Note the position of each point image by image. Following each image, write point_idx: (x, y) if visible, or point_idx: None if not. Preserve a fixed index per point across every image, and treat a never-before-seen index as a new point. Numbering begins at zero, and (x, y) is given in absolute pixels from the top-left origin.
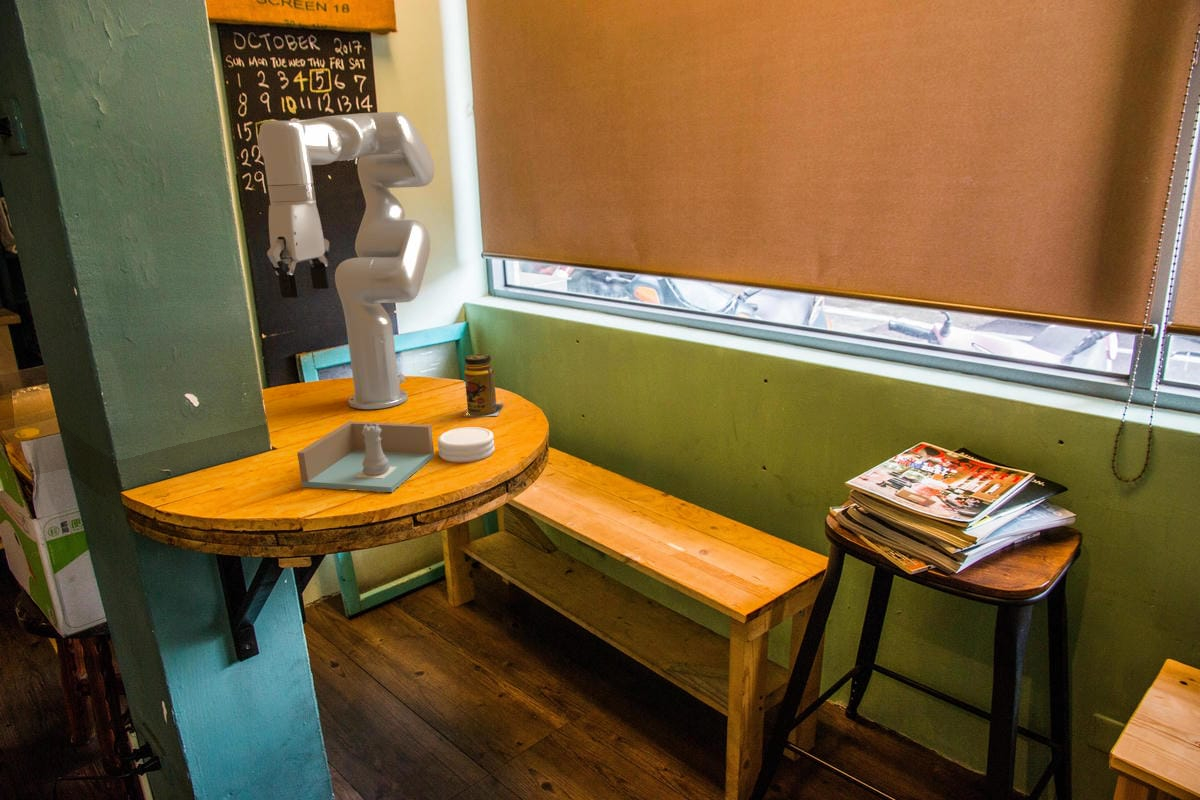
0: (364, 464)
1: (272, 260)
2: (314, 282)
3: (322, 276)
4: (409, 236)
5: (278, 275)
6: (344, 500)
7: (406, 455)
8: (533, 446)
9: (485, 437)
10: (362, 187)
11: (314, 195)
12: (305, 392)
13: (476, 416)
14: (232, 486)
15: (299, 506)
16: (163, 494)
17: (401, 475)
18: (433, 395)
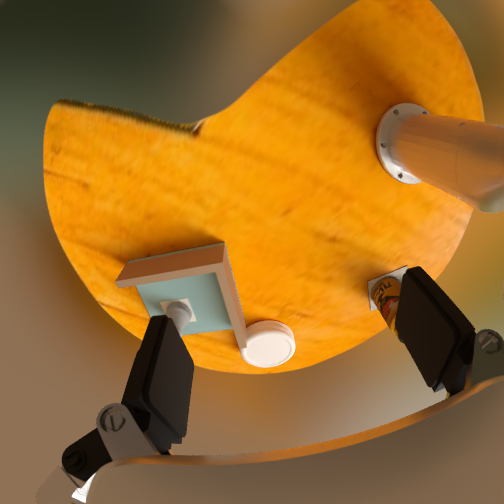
0: (165, 314)
1: (60, 477)
2: (414, 297)
3: (418, 350)
4: None
5: (124, 397)
6: (132, 310)
7: (226, 311)
8: (295, 368)
9: (269, 364)
10: None
11: None
12: (411, 19)
13: (369, 293)
14: (95, 192)
15: (105, 286)
16: (57, 146)
17: (183, 332)
18: (436, 202)
